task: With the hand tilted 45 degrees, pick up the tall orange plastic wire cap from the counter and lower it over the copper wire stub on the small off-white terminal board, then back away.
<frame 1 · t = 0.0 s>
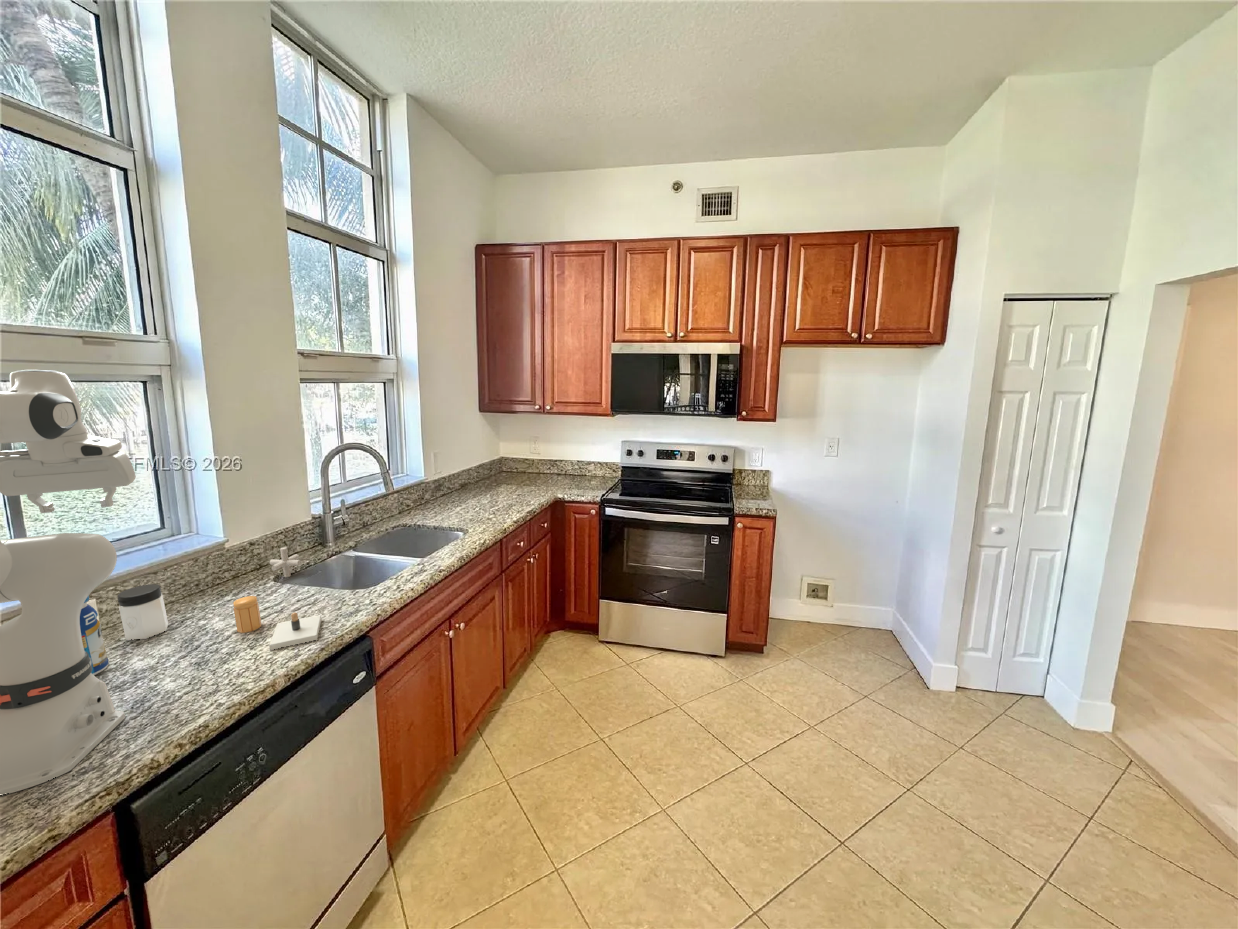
hand: (78, 509, 107), 39 cm above the worktop, tool pointing down, fingers open, 8 cm apart
beverage bottle: (84, 673, 113), on the worktop
terminal board: (297, 634, 129), on the worktop
wire cap: (249, 627, 132), on the worktop
jar: (148, 633, 131), on the worktop
pipe connector: (287, 577, 166), on the worktop
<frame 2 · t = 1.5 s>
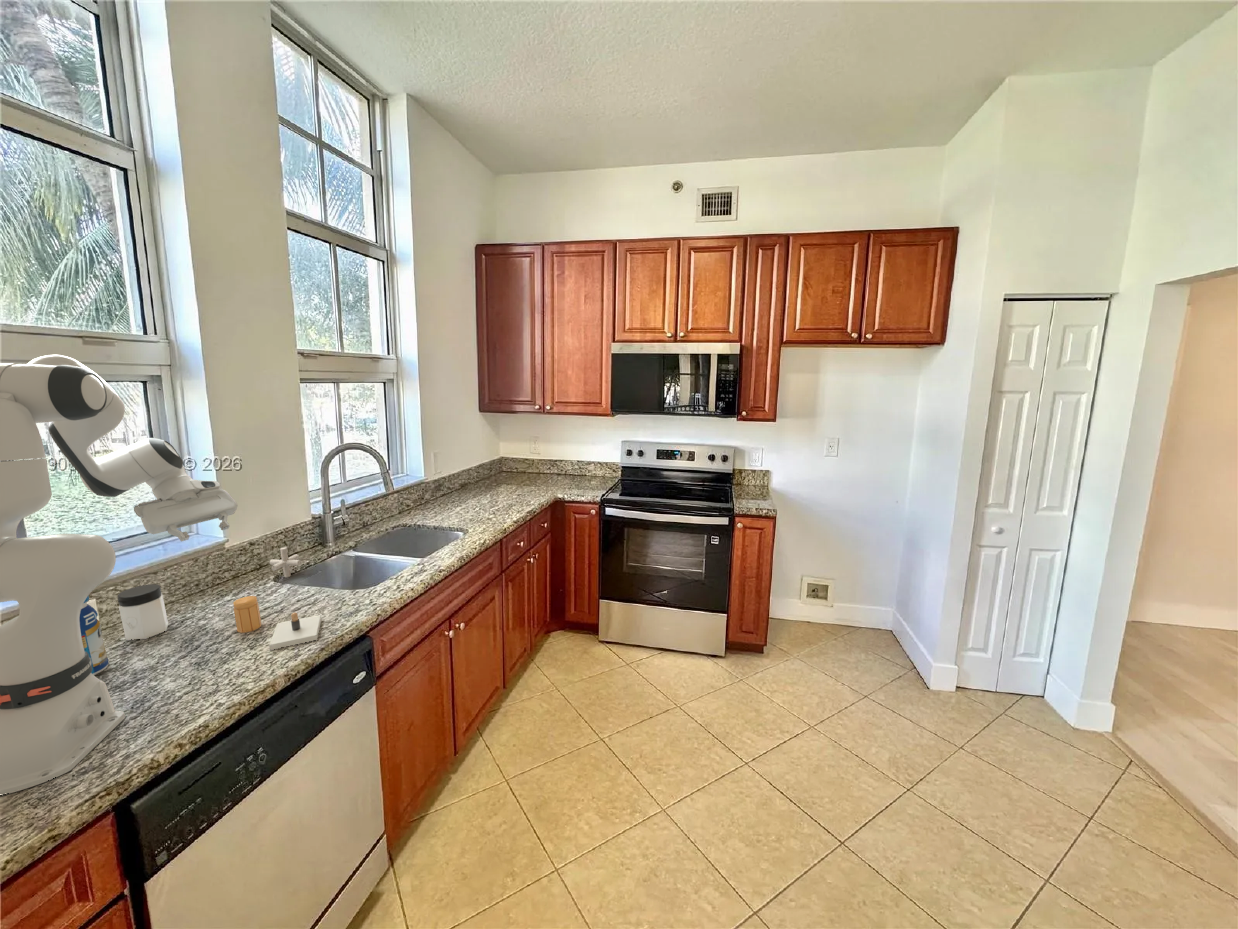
hand: (206, 533, 132), 25 cm above the worktop, tool tilted 45°, fingers open, 8 cm apart
nothing on the worktop moved.
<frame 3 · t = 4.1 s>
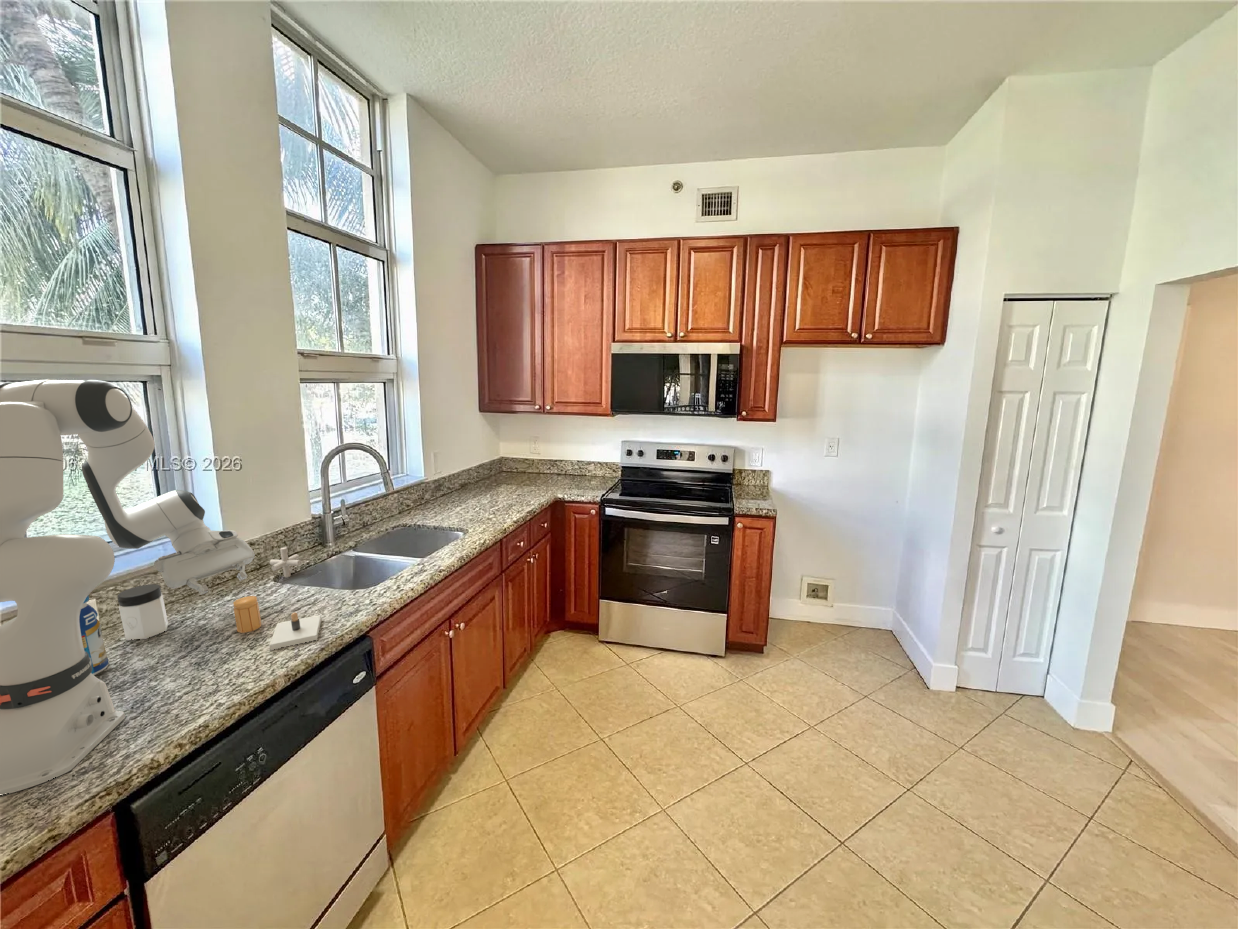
hand: (225, 585, 133), 11 cm above the worktop, tool tilted 45°, fingers open, 8 cm apart
nothing on the worktop moved.
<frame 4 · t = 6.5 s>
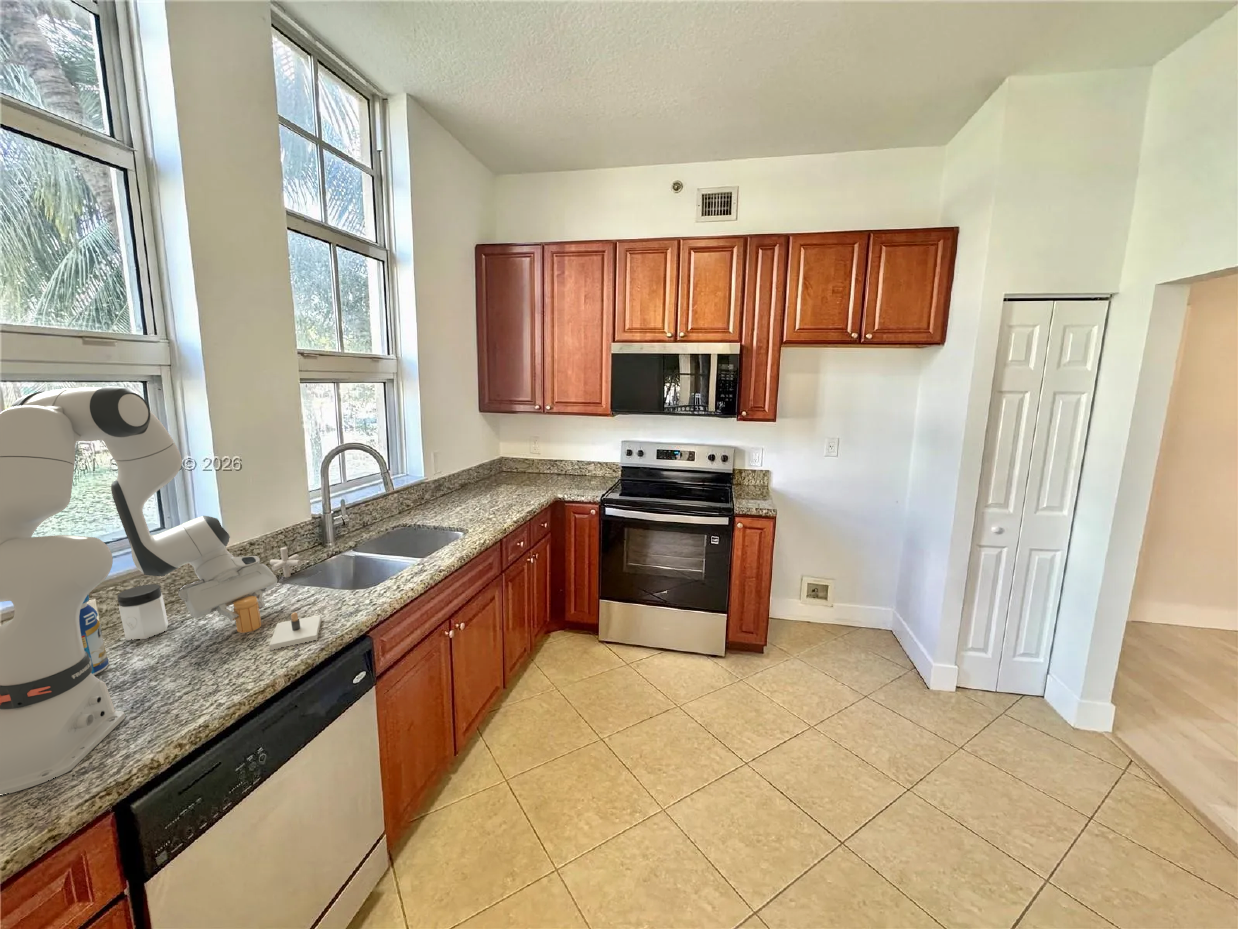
hand: (248, 613, 131), 4 cm above the worktop, tool tilted 45°, fingers closed on wire cap, 5 cm apart
wire cap: (249, 627, 132), on the worktop, touching gripper
everything else where it was.
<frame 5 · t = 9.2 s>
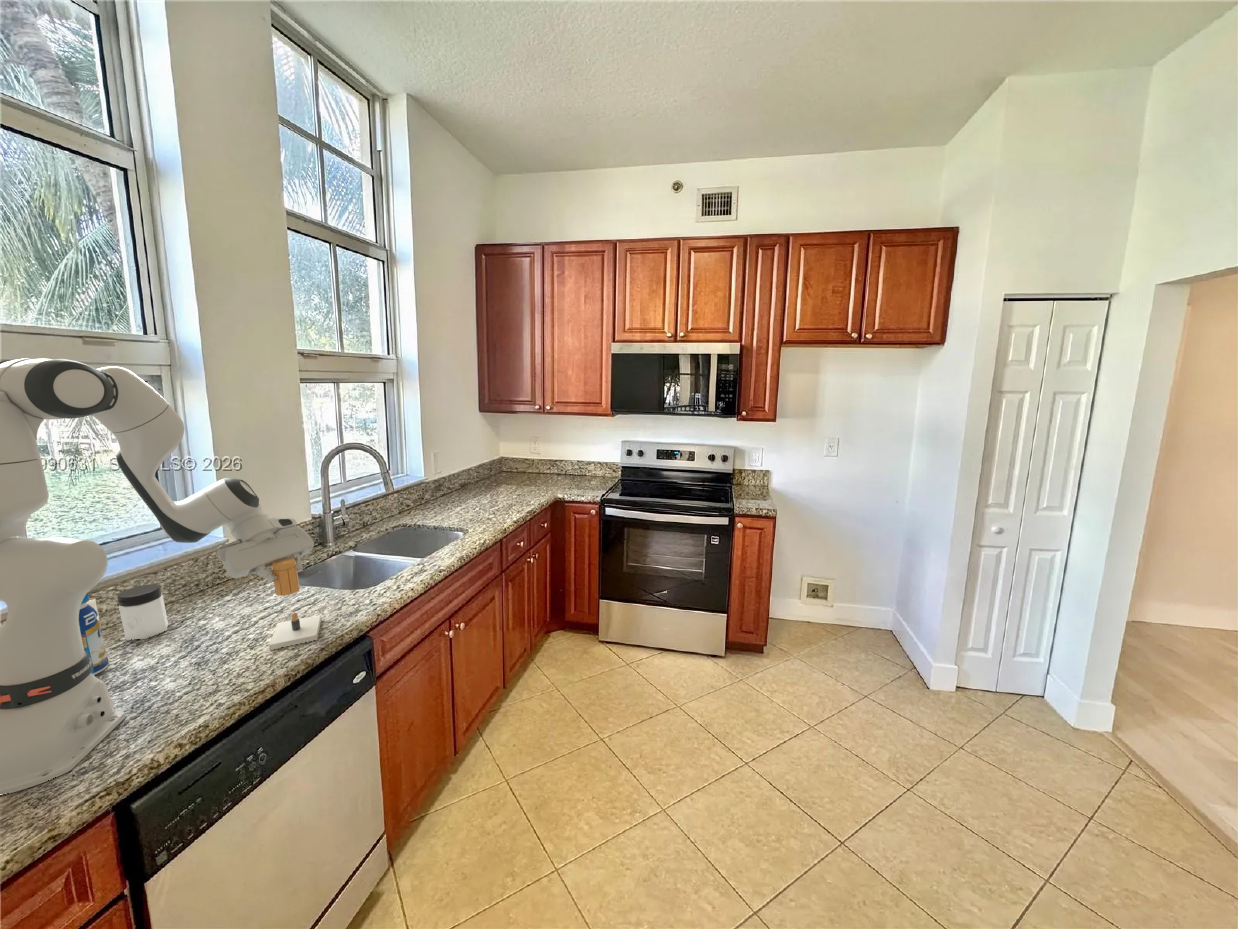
hand: (287, 575, 126), 16 cm above the worktop, tool tilted 45°, fingers closed on wire cap, 5 cm apart
wire cap: (288, 591, 127), point 12 cm above the worktop, touching gripper
everything else where it was.
when the fingers open (7 cm above the worktop, at t = 12.0 s): wire cap stays where it is, resting on terminal board.
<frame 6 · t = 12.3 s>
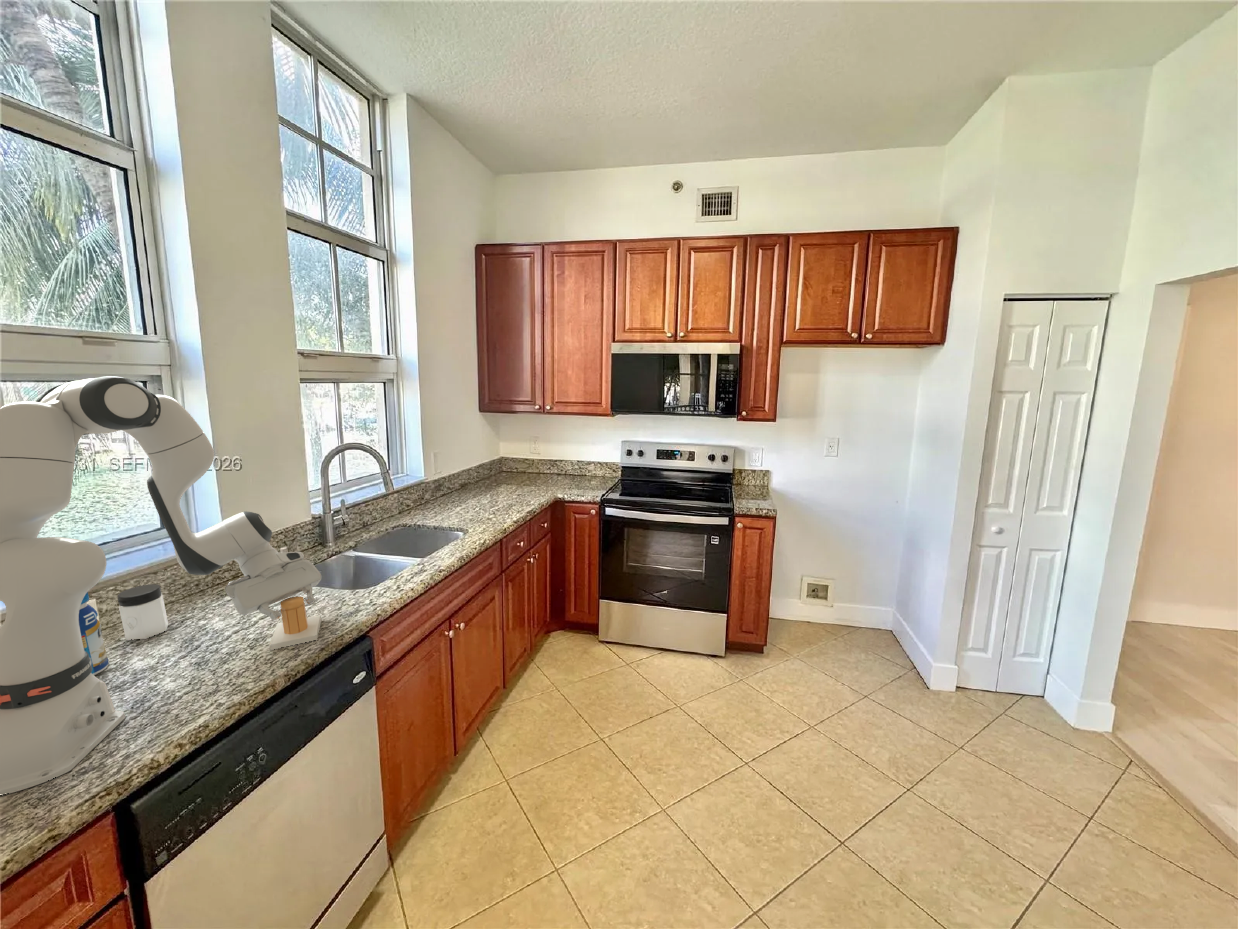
hand: (295, 610, 127), 7 cm above the worktop, tool tilted 45°, fingers open, 8 cm apart
wire cap: (296, 629, 128), point 1 cm above the worktop, touching terminal board
everything else where it was.
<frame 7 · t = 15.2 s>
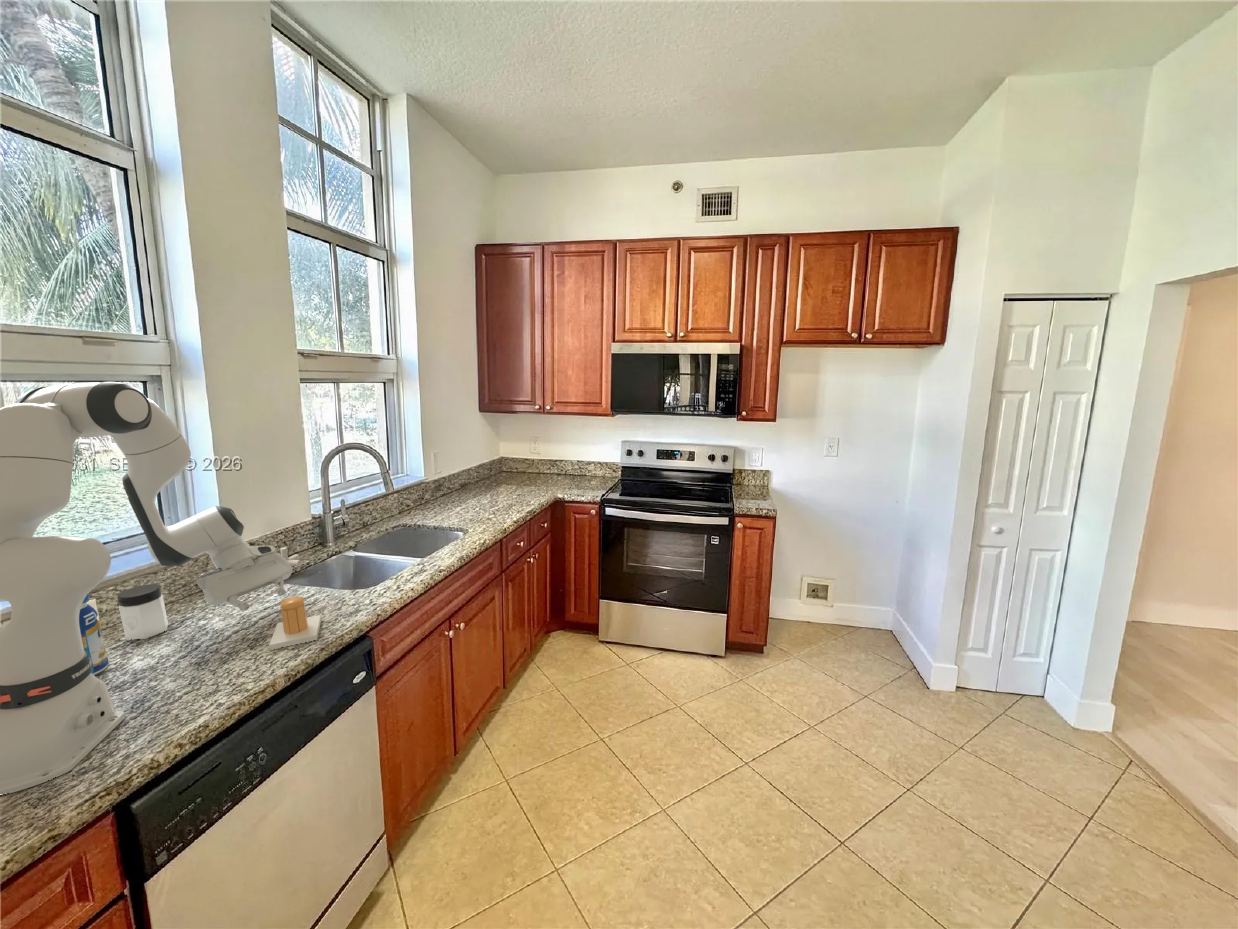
hand: (265, 601, 132), 7 cm above the worktop, tool tilted 45°, fingers open, 8 cm apart
nothing on the worktop moved.
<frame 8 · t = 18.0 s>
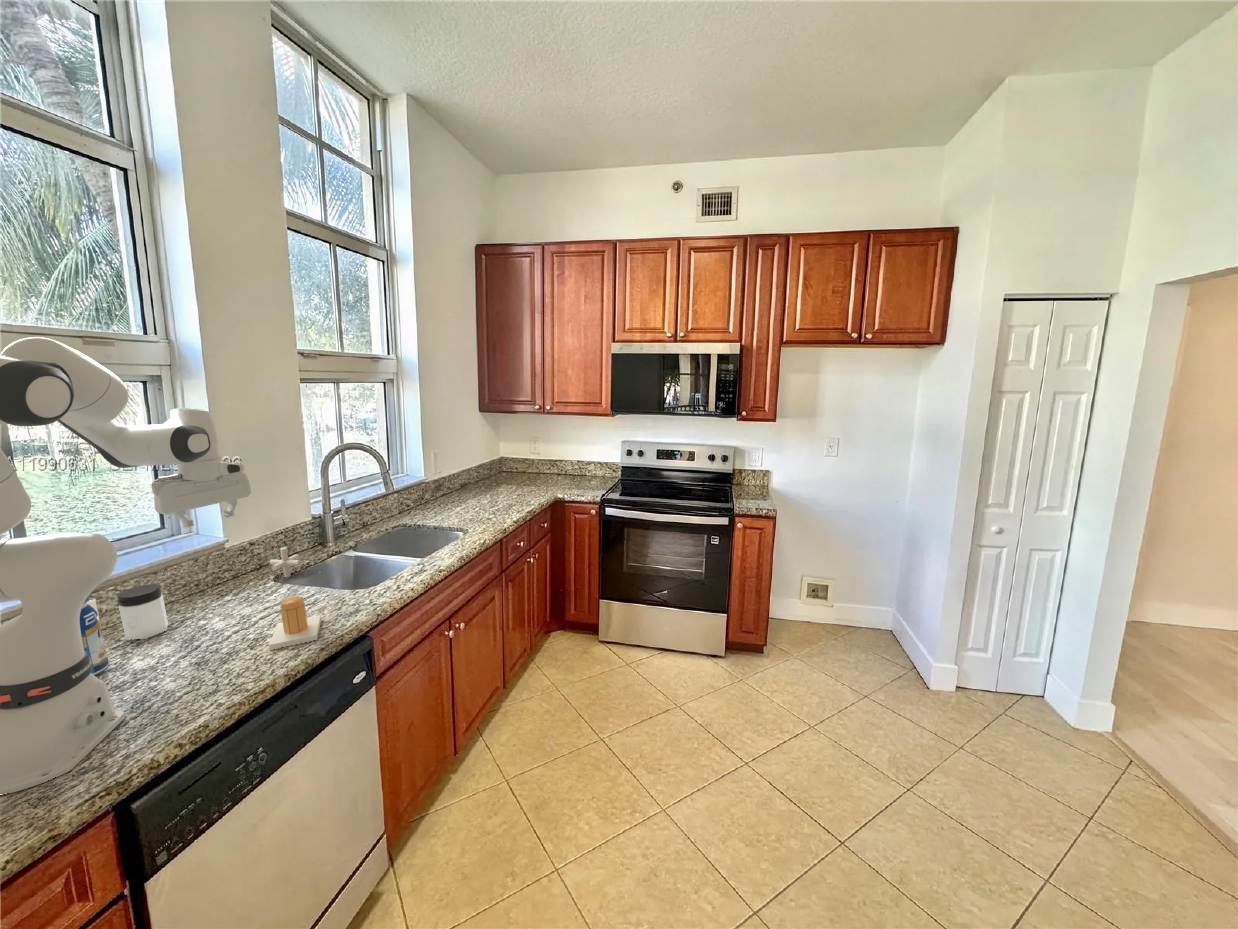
hand: (209, 521, 129), 29 cm above the worktop, tool pointing down, fingers open, 8 cm apart
nothing on the worktop moved.
at the end: wire cap 0.1 cm from the terminal board (horizontally); wire cap point 1.5 cm above the worktop; wire cap tilted 0° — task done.
